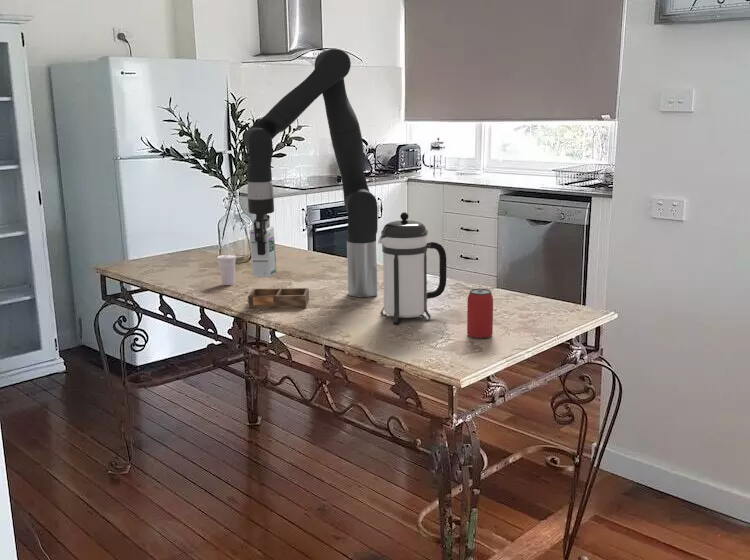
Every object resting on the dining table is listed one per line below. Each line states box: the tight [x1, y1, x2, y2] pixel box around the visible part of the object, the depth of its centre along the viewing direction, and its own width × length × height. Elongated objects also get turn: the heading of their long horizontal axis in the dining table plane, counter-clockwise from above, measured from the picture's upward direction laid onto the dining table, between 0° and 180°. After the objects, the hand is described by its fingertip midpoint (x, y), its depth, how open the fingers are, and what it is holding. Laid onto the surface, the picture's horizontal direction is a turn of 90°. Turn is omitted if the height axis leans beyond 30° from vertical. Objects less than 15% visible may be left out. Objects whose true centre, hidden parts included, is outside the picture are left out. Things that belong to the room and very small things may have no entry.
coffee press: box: [377, 211, 447, 325], centre depth 212 cm, size 17×16×30 cm
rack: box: [247, 287, 310, 310], centre depth 231 cm, size 17×10×4 cm, turn 89°
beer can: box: [466, 287, 494, 340], centre depth 196 cm, size 7×7×12 cm
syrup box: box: [249, 226, 277, 279], centre depth 227 cm, size 6×6×14 cm
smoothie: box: [216, 243, 237, 286], centre depth 255 cm, size 6×6×14 cm
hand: (263, 252), depth 227 cm, fingers closed on syrup box, 6 cm apart
